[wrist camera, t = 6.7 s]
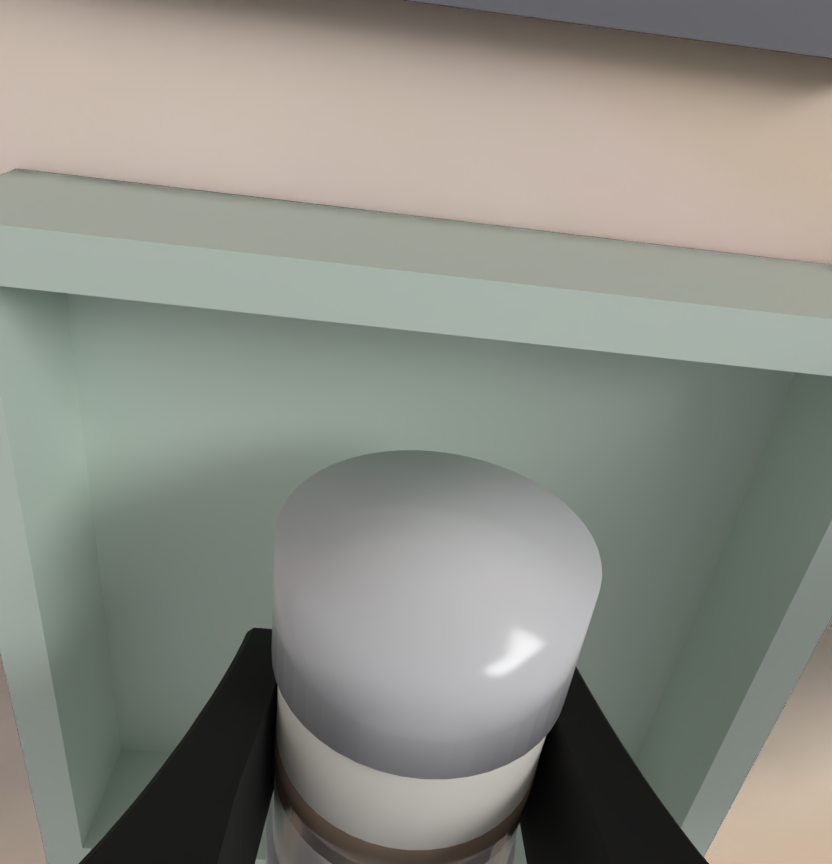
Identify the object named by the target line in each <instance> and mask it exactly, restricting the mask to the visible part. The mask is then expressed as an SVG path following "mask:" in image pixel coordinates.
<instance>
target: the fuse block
mask: <svg viewBox="0 0 832 864" xmlns="http://www.w3.org/2000/svg"><path fill="white" fill-rule="evenodd" d="M406 1H413V2H421V3H428V4H435V5H443V6H450V7H457V8H465V9H472V10H479V11H487V12H494V13H501V14H509V15H516V16H523V17H531V18H538V19H545V20H553V21H560V22H567V23H575V24H582V25H589V26H597V27H604V28H611V29H619V30H626V31H633V32H641V33H648V34H655V35H663V36H670V37H677V38H685V39H692V40H699V41H707V42H714V43H721V44H729V45H736V46H743V47H751V48H758V49H765V50H772V51H780V52H787V53H794V54H802V55H809V56H816V57H824V58H831V59H832V0H406Z"/></svg>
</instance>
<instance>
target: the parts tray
mask: <svg viewBox="0 0 832 864" xmlns="http://www.w3.org/2000/svg"><path fill="white" fill-rule="evenodd" d="M397 450H422V451H436V452H444V453H452V454H457V455H462V456H467V457H471V458H475V459H479V460H483V461H486V462H489V463H492V464H495V465H498V466H501V467H504V468H506V469H509V470H511V471H513V472H516V473H518V474H520V475H522V476H524V477H526V478H528V479H530V480H532V481H534V482H536V483H537V484H539V485H540V486H542V487H543V488H545V489H547V490H548V491H550V492H551V493H552V494H554V495H555V496H556V497H558V498H559V499H560V500H562V501H563V502H564V503H565V504H566V505H567V506H568V507H569V508H570V509H571V510H572V511H574V512H575V514H576V515H577V516H578V517H579V518H580V519H581V521H582V522H583V523H584V524H585V526H586V527H587V529H588V531H589V532H590V534H591V535H592V537H593V539H594V541H595V544H596V546H597V548H598V551H599V555H600V559H601V563H602V580H601V586H600V591H599V594H598V598H597V601H596V604H595V607H594V610H593V613H592V617H591V620H590V623H589V626H588V629H587V632H586V636H585V639H584V642H583V645H582V648H581V652H580V655H579V658H578V661H577V664H576V667H577V669H578V670H579V672H580V674H581V676H582V677H583V679H584V681H585V683H586V684H587V686H588V688H589V690H590V691H591V693H592V695H593V697H594V698H595V700H596V702H597V703H598V705H599V707H600V708H601V710H602V712H603V713H604V715H605V717H606V718H607V720H608V722H609V723H610V725H611V727H612V728H613V730H614V731H615V733H616V735H617V736H618V738H619V739H620V741H621V743H622V744H623V746H624V747H625V749H626V750H627V752H628V753H629V755H630V756H631V758H632V759H633V761H634V762H635V764H636V765H637V767H638V768H639V770H640V771H641V773H642V775H643V776H644V777H645V779H646V780H647V782H648V783H649V785H650V786H651V788H652V789H653V791H654V792H655V793H656V795H657V796H658V798H659V799H660V800H661V802H662V803H663V804H664V806H665V807H666V809H667V810H668V811H669V813H670V814H671V816H672V817H673V818H674V820H675V821H676V822H677V824H678V825H679V826H680V828H681V829H682V830H683V832H684V833H685V834H686V836H687V837H688V838H689V840H690V841H691V842H692V843H693V845H694V846H695V847H696V848H697V850H698V851H699V852H700V854H701V855H702V856H703V857H704V856H705V854H706V852H707V850H708V848H709V846H710V845H711V843H712V841H713V839H714V837H715V835H716V833H717V831H718V830H719V828H720V826H721V824H722V822H723V820H724V818H725V816H726V815H727V813H728V811H729V809H730V807H731V805H732V803H733V801H734V800H735V798H736V796H737V794H738V792H739V790H740V788H741V786H742V785H743V783H744V781H745V779H746V777H747V775H748V773H749V771H750V770H751V768H752V766H753V764H754V762H755V760H756V758H757V756H758V755H759V753H760V751H761V749H762V747H763V745H764V743H765V741H766V740H767V738H768V736H769V734H770V732H771V730H772V728H773V726H774V725H775V723H776V721H777V719H778V717H779V715H780V713H781V711H782V710H783V708H784V706H785V704H786V702H787V700H788V698H789V696H790V694H791V693H792V691H793V689H794V687H795V685H796V683H797V681H798V679H799V678H800V676H801V674H802V672H803V670H804V668H805V666H806V664H807V663H808V661H809V659H810V657H811V655H812V653H813V651H814V649H815V648H816V646H817V644H818V642H819V640H820V638H821V636H822V634H823V633H824V631H825V629H826V627H827V625H828V623H829V621H830V619H831V618H832V265H827V264H818V263H810V262H801V261H793V260H784V259H776V258H768V257H759V256H751V255H742V254H734V253H725V252H717V251H708V250H700V249H691V248H683V247H675V246H666V245H658V244H649V243H641V242H632V241H624V240H615V239H607V238H598V237H590V236H582V235H573V234H565V233H556V232H548V231H539V230H531V229H522V228H514V227H505V226H497V225H489V224H480V223H472V222H463V221H455V220H446V219H438V218H429V217H421V216H412V215H404V214H396V213H387V212H379V211H370V210H362V209H353V208H345V207H336V206H328V205H319V204H311V203H303V202H294V201H286V200H277V199H269V198H260V197H252V196H243V195H235V194H226V193H218V192H210V191H201V190H193V189H184V188H176V187H167V186H159V185H150V184H142V183H133V182H125V181H117V180H108V179H100V178H91V177H83V176H74V175H66V174H57V173H49V172H40V171H32V170H24V169H14V170H12V171H9V172H7V173H4V174H2V175H0V653H1V658H2V662H3V667H4V671H5V676H6V680H7V685H8V689H9V693H10V698H11V702H12V707H13V711H14V716H15V720H16V725H17V729H18V734H19V738H20V743H21V747H22V752H23V756H24V761H25V765H26V769H27V774H28V778H29V783H30V787H31V792H32V796H33V801H34V805H35V810H36V814H37V819H38V823H39V828H40V832H41V837H42V841H43V846H44V850H45V854H46V859H47V863H48V864H79V863H80V861H81V860H82V859H83V858H84V857H85V856H86V855H87V854H88V853H89V852H90V851H91V850H92V849H93V848H94V847H95V846H96V844H97V843H98V842H99V841H100V840H101V839H102V838H103V837H104V836H105V834H106V833H107V832H108V831H109V830H110V829H111V828H112V826H113V825H114V824H115V823H116V822H117V821H118V820H119V818H120V817H121V816H122V815H123V814H124V813H125V811H126V810H127V809H128V808H129V807H130V806H131V804H132V803H133V802H134V801H135V800H136V798H137V797H138V796H139V795H140V793H141V792H142V791H143V790H144V788H145V787H146V786H147V785H148V784H149V782H150V781H151V780H152V778H153V777H154V776H155V774H156V773H157V772H158V770H159V769H160V768H161V766H162V765H163V764H164V763H165V761H166V760H167V759H168V757H169V756H170V755H171V753H172V752H173V751H174V749H175V748H176V747H177V745H178V744H179V743H180V741H181V740H182V739H183V737H184V736H185V734H186V733H187V731H188V730H189V729H190V727H191V726H192V724H193V723H194V721H195V720H196V718H197V717H198V715H199V714H200V712H201V711H202V709H203V708H204V706H205V705H206V703H207V702H208V700H209V699H210V697H211V696H212V694H213V693H214V691H215V689H216V688H217V686H218V684H219V683H220V681H221V680H222V678H223V676H224V675H225V673H226V671H227V670H228V668H229V666H230V664H231V663H232V661H233V659H234V657H235V655H236V653H237V651H238V649H239V648H240V646H241V644H242V642H243V639H244V637H245V635H246V633H247V632H248V631H249V630H251V629H252V628H266V629H272V613H273V579H274V544H275V529H276V522H277V519H278V516H279V513H280V511H281V508H282V506H283V505H284V503H285V502H286V500H287V498H288V497H289V496H290V494H291V493H292V492H293V491H294V490H295V489H296V488H297V487H298V486H299V485H300V484H301V483H303V482H304V481H305V480H306V479H307V478H309V477H310V476H312V475H314V474H315V473H317V472H318V471H320V470H322V469H324V468H326V467H328V466H330V465H333V464H335V463H338V462H340V461H343V460H346V459H349V458H353V457H357V456H361V455H365V454H371V453H377V452H385V451H397ZM266 823H267V818H266V822H265V826H264V830H263V834H262V838H261V841H260V845H259V849H258V853H257V857H256V861H255V864H265V855H266ZM515 837H516V842H515V856H514V860H513V864H527V861H526V856H525V850H524V845H523V839H522V833H521V827H520V823H519V826H518V829H517V832H516V835H515Z"/></svg>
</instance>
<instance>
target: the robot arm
mask: <svg viewBox="0 0 832 864" xmlns="http://www.w3.org/2000/svg"><path fill="white" fill-rule="evenodd" d="M271 648H272V629H266V628H252V629H251V630H249V631H248V632H247V633H246V635H245V637H244V639H243V642H242V644H241V646H240V648H239V649H238V651H237V653H236V655H235V657H234V659H233V661H232V663H231V664H230V666H229V668H228V670H227V671H226V673H225V675H224V676H223V678H222V680H221V681H220V683H219V684H218V686H217V688H216V689H215V691H214V693H213V694H212V696H211V697H210V699H209V700H208V702H207V703H206V705H205V706H204V708H203V709H202V711H201V712H200V714H199V715H198V717H197V718H196V720H195V721H194V723H193V724H192V726H191V727H190V729H189V730H188V731H187V733H186V734H185V736H184V737H183V739H182V740H181V741H180V743H179V744H178V745H177V747H176V748H175V749H174V751H173V752H172V753H171V755H170V756H169V757H168V759H167V760H166V761H165V763H164V764H163V765H162V766H161V768H160V769H159V770H158V772H157V773H156V774H155V776H154V777H153V778H152V780H151V781H150V782H149V784H148V785H147V786H146V787H145V788H144V790H143V791H142V792H141V793H140V795H139V796H138V797H137V798H136V800H135V801H134V802H133V803H132V804H131V806H130V807H129V808H128V809H127V810H126V811H125V813H124V814H123V815H122V816H121V817H120V818H119V820H118V821H117V822H116V823H115V824H114V825H113V826H112V828H111V829H110V830H109V831H108V832H107V833H106V834H105V836H104V837H103V838H102V839H101V840H100V841H99V842H98V843H97V844H96V846H95V847H94V848H93V849H92V850H91V851H90V852H89V853H88V854H87V855H86V856H85V857H84V858H83V859H82V860H81V861H80V863H79V864H255V861H256V857H257V853H258V849H259V845H260V841H261V838H262V834H263V830H264V826H265V822H266V818H267V814H268V810H269V806H270V802H271V798H272V794H273V790H274V762H273V761H274V732H275V719H276V714H277V686H278V685H277V682H276V679H275V675H274V670H273V666H272V650H271ZM520 827H521V833H522V839H523V845H524V850H525V856H526V861H527V864H709V863H708V862H707V861H706V860H705V858H704V857H703V856H702V855H701V854H700V852H699V851H698V850H697V848H696V847H695V846H694V845H693V843H692V842H691V841H690V840H689V838H688V837H687V836H686V834H685V833H684V832H683V830H682V829H681V828H680V826H679V825H678V824H677V822H676V821H675V820H674V818H673V817H672V816H671V814H670V813H669V811H668V810H667V809H666V807H665V806H664V804H663V803H662V802H661V800H660V799H659V798H658V796H657V795H656V793H655V792H654V791H653V789H652V788H651V786H650V785H649V783H648V782H647V780H646V779H645V777H644V776H643V775H642V773H641V771H640V770H639V768H638V767H637V765H636V764H635V762H634V761H633V759H632V758H631V756H630V755H629V753H628V752H627V750H626V749H625V747H624V746H623V744H622V743H621V741H620V739H619V738H618V736H617V735H616V733H615V731H614V730H613V728H612V727H611V725H610V723H609V722H608V720H607V718H606V717H605V715H604V713H603V712H602V710H601V708H600V707H599V705H598V703H597V702H596V700H595V698H594V697H593V695H592V693H591V691H590V690H589V688H588V686H587V684H586V683H585V681H584V679H583V677H582V676H581V674H580V672H579V670H578V669H577V667H575V671H574V674H573V677H572V680H571V683H570V686H569V690H568V693H567V696H566V699H565V702H564V705H563V707H562V710H561V713H560V715H559V717H558V719H557V721H556V722H555V724H554V726H553V727H552V729H551V730H550V732H549V733H548V734H547V735H546V738H545V741H544V744H543V748H542V751H541V754H540V757H539V761H538V766H537V770H536V775H535V778H534V782H533V785H532V788H531V791H530V795H529V798H528V801H527V804H526V808H525V810H524V813H523V816H522V818H521V821H520Z"/></svg>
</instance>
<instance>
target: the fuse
mask: <svg viewBox="0 0 832 864" xmlns="http://www.w3.org/2000/svg"><path fill="white" fill-rule="evenodd" d="M601 580H602V563H601V559H600V555H599V551H598V548H597V546H596V544H595V541H594V539H593V537H592V535H591V534H590V532H589V531H588V529H587V527H586V526H585V524H584V523H583V522H582V521H581V519H580V518H579V517H578V516H577V515H576V514H575V512H574V511H572V510H571V509H570V508H569V507H568V506H567V505H566V504H565V503H564V502H563V501H562V500H560V499H559V498H558V497H556V496H555V495H554V494H552V493H551V492H550V491H548V490H547V489H545V488H543V487H542V486H540V485H539V484H537V483H536V482H534V481H532V480H530V479H528V478H526V477H524V476H522V475H520V474H518V473H516V472H513V471H511V470H509V469H506V468H504V467H501V466H498V465H495V464H492V463H489V462H486V461H483V460H479V459H475V458H471V457H467V456H462V455H457V454H452V453H444V452H436V451H422V450H397V451H385V452H377V453H371V454H365V455H361V456H357V457H353V458H349V459H346V460H343V461H340V462H338V463H335V464H333V465H330V466H328V467H326V468H324V469H322V470H320V471H318V472H317V473H315V474H314V475H312V476H310V477H309V478H307V479H306V480H305V481H304V482H303V483H301V484H300V485H299V486H298V487H297V488H296V489H295V490H294V491H293V492H292V493H291V494H290V496H289V497H288V498H287V500H286V502H285V503H284V505H283V506H282V508H281V511H280V513H279V516H278V519H277V522H276V529H275V544H274V579H273V613H272V648H271V650H272V666H273V670H274V675H275V679H276V682H277V685H278V686H277V714H276V719H275V732H274V761H273V762H274V790H273V794H272V798H271V802H270V806H269V810H268V814H267V823H266V855H265V864H513V860H514V856H515V842H516V837H515V835H516V832H517V829H518V826H519V823H520V821H521V818H522V816H523V813H524V810H525V808H526V804H527V801H528V798H529V795H530V791H531V788H532V785H533V782H534V778H535V775H536V770H537V766H538V761H539V757H540V754H541V751H542V748H543V744H544V741H545V738H546V735H547V734H548V733H549V732H550V730H551V729H552V727H553V726H554V724H555V722H556V721H557V719H558V717H559V715H560V713H561V710H562V707H563V705H564V702H565V699H566V696H567V693H568V690H569V686H570V683H571V680H572V677H573V674H574V671H575V667H576V664H577V661H578V658H579V655H580V652H581V648H582V645H583V642H584V639H585V636H586V632H587V629H588V626H589V623H590V620H591V617H592V613H593V610H594V607H595V604H596V601H597V598H598V594H599V591H600V586H601Z"/></svg>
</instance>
